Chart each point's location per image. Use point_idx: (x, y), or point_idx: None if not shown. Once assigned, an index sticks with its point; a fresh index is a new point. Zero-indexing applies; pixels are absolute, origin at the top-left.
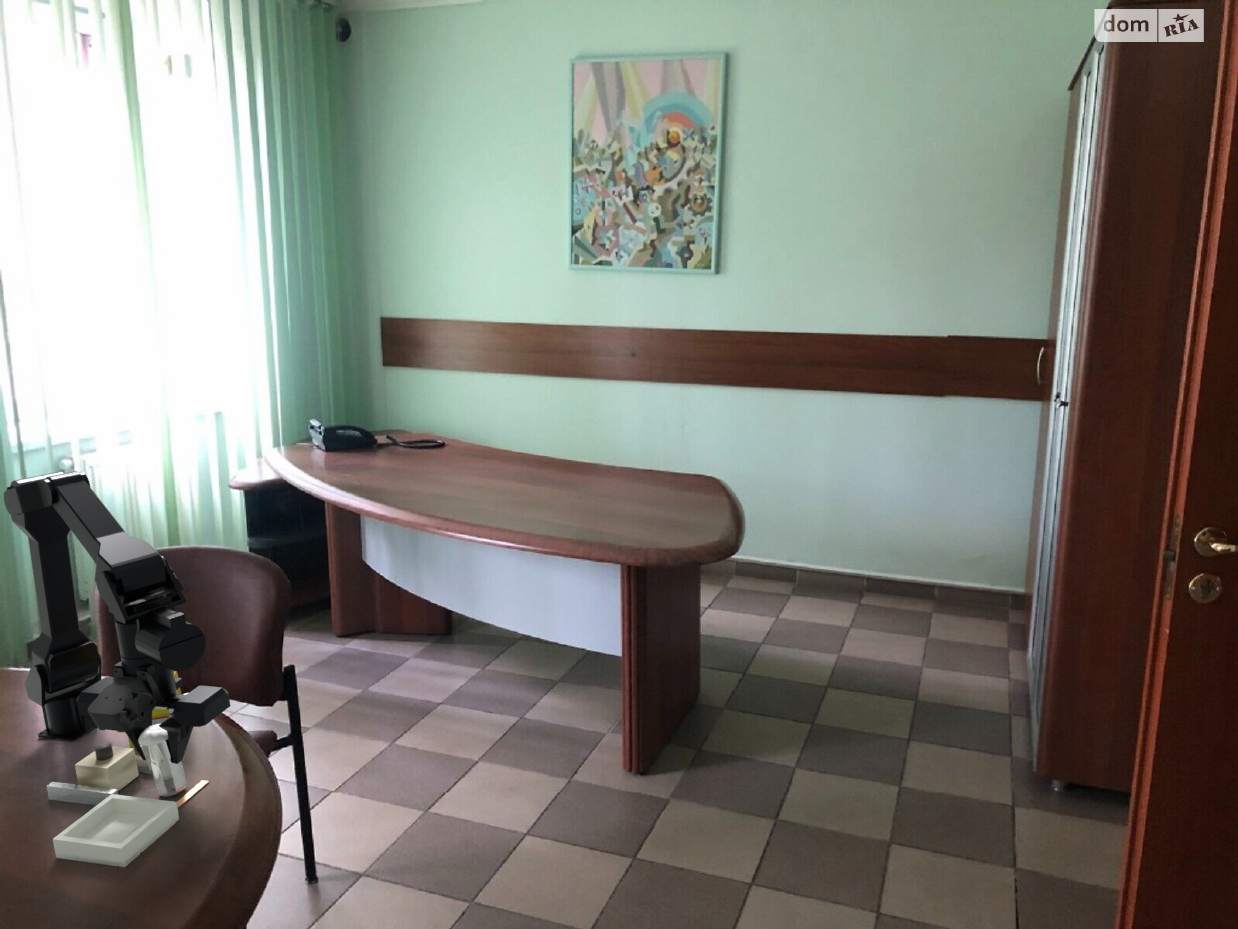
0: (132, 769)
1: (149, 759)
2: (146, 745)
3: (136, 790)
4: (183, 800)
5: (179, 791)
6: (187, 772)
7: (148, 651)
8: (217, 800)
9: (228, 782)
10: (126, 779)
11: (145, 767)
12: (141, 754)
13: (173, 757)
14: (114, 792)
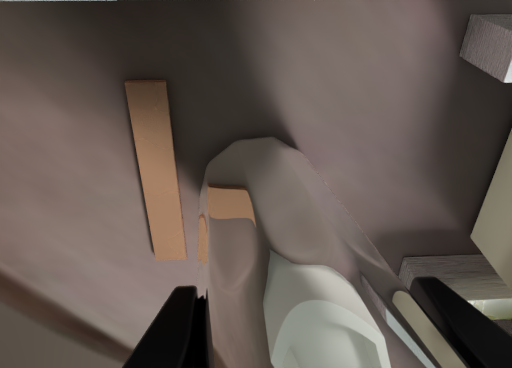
0: (503, 246)
1: (339, 271)
2: None
3: (430, 160)
4: (147, 133)
5: (204, 177)
6: None
7: None
8: (5, 169)
9: (82, 271)
10: (504, 196)
11: (461, 273)
12: (456, 307)
13: (176, 324)
14: (509, 58)
